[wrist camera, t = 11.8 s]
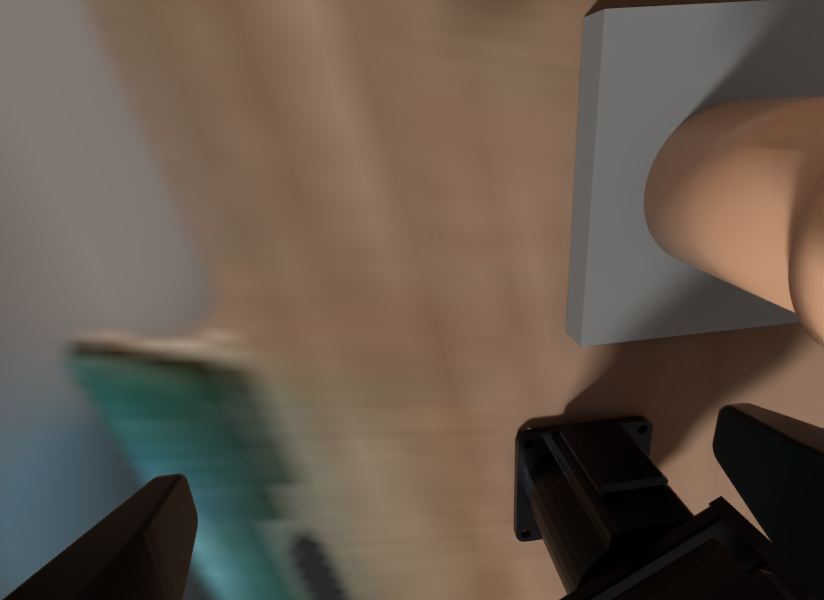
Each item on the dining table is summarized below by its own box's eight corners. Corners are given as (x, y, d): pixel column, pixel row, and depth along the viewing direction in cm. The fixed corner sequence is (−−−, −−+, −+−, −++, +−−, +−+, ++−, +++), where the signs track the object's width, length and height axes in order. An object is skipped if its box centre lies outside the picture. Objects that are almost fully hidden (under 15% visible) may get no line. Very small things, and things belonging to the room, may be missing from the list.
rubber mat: (779, 308, 22) (808, 321, 21) (565, 331, 21) (580, 346, 20) (849, 2, 18) (891, -7, 16) (584, 17, 17) (604, 8, 16)
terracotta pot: (788, 268, 20) (1061, 365, 12) (622, 285, 19) (799, 398, 12) (831, 77, 17) (1211, 50, 10) (641, 90, 17) (886, 71, 9)
